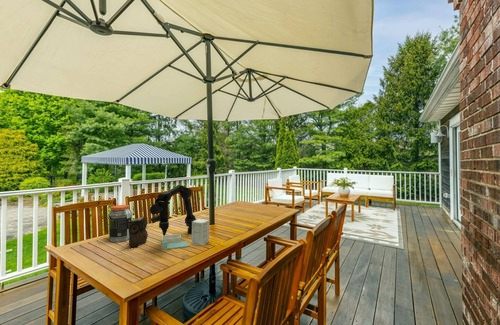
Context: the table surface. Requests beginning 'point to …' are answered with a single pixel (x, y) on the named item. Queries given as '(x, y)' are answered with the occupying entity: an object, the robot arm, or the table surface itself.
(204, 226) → the supplement box
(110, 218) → the supplement tub
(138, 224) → the owl
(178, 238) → the tub
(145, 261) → the table surface
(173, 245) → the lid
